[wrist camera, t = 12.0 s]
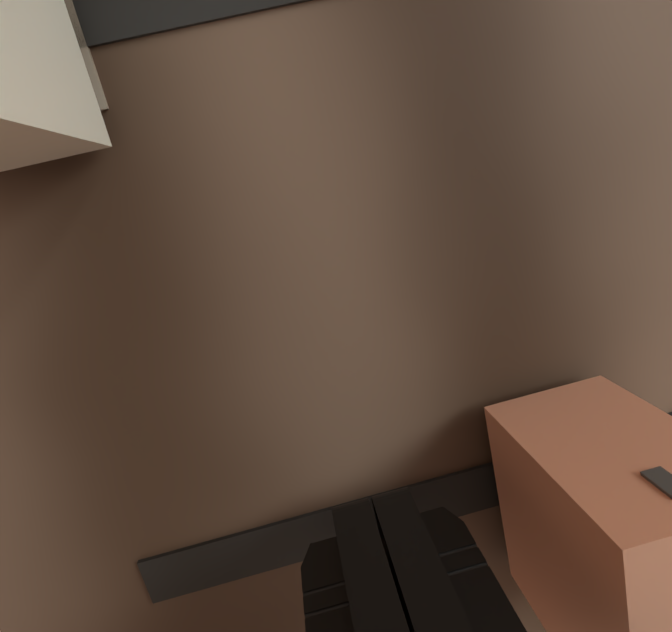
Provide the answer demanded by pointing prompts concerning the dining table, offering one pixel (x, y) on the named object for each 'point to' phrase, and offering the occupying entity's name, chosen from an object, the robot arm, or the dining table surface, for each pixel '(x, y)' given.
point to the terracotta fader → (587, 505)
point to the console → (314, 286)
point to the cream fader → (44, 87)
